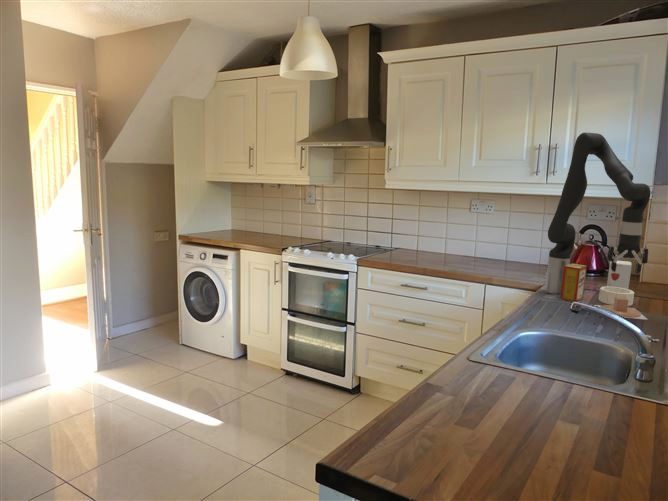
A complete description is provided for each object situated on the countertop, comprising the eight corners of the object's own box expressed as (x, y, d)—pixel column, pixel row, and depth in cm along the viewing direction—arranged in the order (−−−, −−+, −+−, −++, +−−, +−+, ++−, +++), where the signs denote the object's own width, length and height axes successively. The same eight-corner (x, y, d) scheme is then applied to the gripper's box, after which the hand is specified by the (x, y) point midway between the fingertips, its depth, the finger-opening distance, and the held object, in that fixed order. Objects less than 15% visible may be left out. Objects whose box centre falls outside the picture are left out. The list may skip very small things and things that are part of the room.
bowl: (603, 305, 218) (605, 292, 217) (595, 298, 231) (597, 285, 230) (636, 308, 216) (638, 295, 214) (626, 300, 228) (628, 287, 227)
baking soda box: (575, 302, 222) (579, 267, 219) (560, 299, 226) (564, 265, 223) (582, 299, 228) (587, 264, 226) (568, 296, 233) (572, 262, 230)
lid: (605, 315, 202) (606, 301, 201) (595, 305, 216) (596, 292, 215) (646, 319, 199) (648, 305, 198) (633, 308, 213) (635, 295, 212)
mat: (603, 316, 202) (604, 315, 202) (593, 306, 217) (593, 304, 217) (647, 321, 198) (648, 319, 198) (634, 309, 213) (634, 308, 213)
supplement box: (606, 292, 242) (610, 262, 239) (606, 288, 250) (610, 259, 247) (627, 295, 238) (632, 264, 235) (627, 291, 245) (631, 261, 243)
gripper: (614, 233, 200) (608, 272, 203) (653, 235, 196) (648, 275, 199) (608, 230, 207) (603, 269, 210) (646, 232, 204) (641, 271, 207)
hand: (625, 272), depth 205 cm, fingers open, 8 cm apart
